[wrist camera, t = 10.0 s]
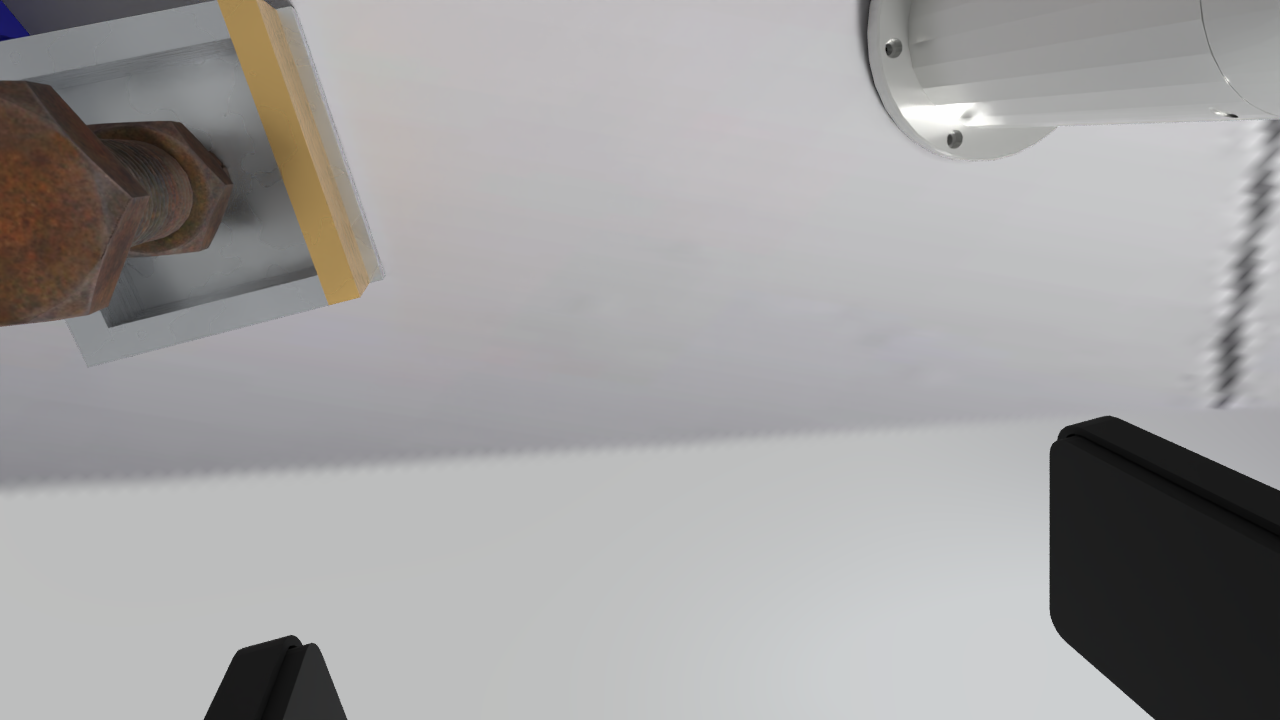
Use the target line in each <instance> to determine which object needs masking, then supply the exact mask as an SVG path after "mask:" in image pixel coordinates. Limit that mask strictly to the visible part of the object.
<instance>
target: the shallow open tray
mask: <svg viewBox="0 0 1280 720" xmlns="http://www.w3.org/2000/svg"><path fill="white" fill-rule="evenodd" d="M0 80H13V81H30V82H35V83H41V84H47V85H51V87H52V88H53V89H54V90H55V91H56V92H57V93H58V94H59V95H60V96H61V98H62V99H63V100H64V101H65V102H66V103H67V104H68V105H69V106H70V107H71V109H72V110H73V111H74V112H75V113H76V114H77V115H78V116H79V117H80V118H81V120H82V121H83V122H84V123H85V124H86V125H90V124H102V123H121V122H143V121H175V122H181V123H182V124H183V125H184V126H185V127H186V128H187V129H188V130H189V131H190V132H191V133H192V134H193V135H194V136H195V137H196V138H197V139H198V140H199V141H200V142H201V143H202V145H203V146H204V147H205V148H206V149H207V150H208V151H210V152H211V153H213V154H214V155H215V156H216V157H217V158H218V159H219V160H220V163H221V164H222V166H221V167H222V168H225V167H226V168H227V170H228V172H229V174H230V177H231V181H232V182H233V184H234V185H233V189H232V195H231V196H230V199H229V202H228V205H227V208H226V211H225V213H224V216H223V218H222V221H221V223H220V226H219V228H218V230H217V232H216V234H215V236H214V238H213V240H212V242H211V244H210V246H209V248H208V249H205V250H202V251H200V252H192V253H184V254H174V255H164V256H152V257H139V258H126V261H125V263H124V266H123V269H122V271H121V274H120V277H119V279H118V282H117V285H116V287H115V290H114V293H113V295H112V298H111V301H110V303H109V306H108V307H106V308H104V309H102V310H99V311H97V312H95V313H92V314H90V315H86V316H80V317H74V318H68V319H65V321H66V323H67V326H68V328H69V330H70V332H71V334H72V336H73V338H74V340H75V342H76V344H77V346H78V348H79V350H80V352H81V354H82V356H83V358H84V360H85V362H86V364H87V367H92V366H96V365H100V364H104V363H107V362H111V361H115V360H119V359H123V358H127V357H131V356H135V355H138V354H142V353H146V352H150V351H154V350H158V349H162V348H165V347H169V346H173V345H177V344H181V343H185V342H189V341H193V340H196V339H200V338H204V337H208V336H212V335H216V334H220V333H224V332H227V331H231V330H235V329H239V328H243V327H247V326H251V325H254V324H258V323H262V322H266V321H270V320H274V319H278V318H282V317H285V316H289V315H293V314H297V313H301V312H305V311H309V310H312V309H316V308H320V307H324V306H328V305H332V304H336V303H340V302H343V301H347V300H351V299H355V298H359V297H361V295H362V294H363V292H364V290H365V289H366V287H367V286H368V284H369V283H372V282H376V281H380V280H383V279H384V277H385V273H384V270H383V267H382V264H381V262H380V259H379V256H378V253H377V250H376V247H375V244H374V241H373V238H372V235H371V232H370V229H369V226H368V223H367V220H366V217H365V214H364V211H363V208H362V205H361V202H360V199H359V196H358V193H357V190H356V187H355V184H354V181H353V178H352V175H351V172H350V169H349V166H348V163H347V160H346V157H345V154H344V151H343V148H342V146H341V143H340V140H339V137H338V134H337V131H336V128H335V125H334V122H333V119H332V116H331V113H330V110H329V107H328V104H327V101H326V98H325V95H324V92H323V89H322V86H321V83H320V80H319V77H318V74H317V71H316V68H315V65H314V62H313V59H312V56H311V53H310V50H309V47H308V44H307V41H306V38H305V35H304V32H303V30H302V27H301V24H300V21H299V18H298V15H297V12H296V10H295V9H294V8H293V7H291V6H289V7H284V8H279V9H274V8H273V7H272V6H270V5H269V4H268V3H266V2H265V1H264V0H214V1H209V2H203V3H198V4H193V5H188V6H183V7H177V8H172V9H167V10H162V11H157V12H151V13H146V14H141V15H136V16H131V17H125V18H120V19H115V20H110V21H105V22H99V23H94V24H89V25H84V26H79V27H73V28H68V29H63V30H58V31H52V32H47V33H42V34H37V35H32V36H26V37H21V38H16V39H11V40H6V41H0Z"/></svg>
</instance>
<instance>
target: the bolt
mask: <svg viewBox="0 0 1280 720" xmlns="http://www.w3.org/2000/svg"><path fill="white" fill-rule="evenodd" d="M221 166H222V164H221V163H220V160H219V159H218V158H217V157H216V156H215V155H214V154H213V153H211V152H210V151H208V150H207V149H206V148H205V147H204V146H203V145H202V143H201V142H200V141H199V140H198V139H197V138H196V137H195V136H194V135H193V134H192V133H191V132H190V131H189V130H188V129H187V128H186V127H185V126H184V125H183V124H182V123H181V122H175V121H143V122H121V123H102V124H90V125H86V124H85V123H84V122H83V121H82V120H81V118H80V117H79V116H78V115H77V114H76V113H75V112H74V111H73V110H72V109H71V107H70V106H69V105H68V104H67V103H66V102H65V101H64V100H63V99H62V98H61V96H60V95H59V94H58V93H57V92H56V91H55V90H54V89H53V88H52V87H51V85H47V84H41V83H35V82H30V81H13V80H0V327H2V326H11V325H20V324H29V323H38V322H47V321H55V320H61V319H68V318H74V317H80V316H86V315H90V314H92V313H95V312H97V311H99V310H102V309H104V308H106V307H108V306H109V303H110V301H111V298H112V295H113V293H114V290H115V287H116V285H117V282H118V279H119V277H120V274H121V271H122V269H123V266H124V263H125V261H126V258H139V257H152V256H164V255H174V254H184V253H192V252H200V251H202V250H205V249H208V248H209V246H210V244H211V242H212V240H213V238H214V236H215V234H216V232H217V230H218V228H219V226H220V223H221V221H222V218H223V216H224V213H225V211H226V208H227V205H228V202H229V199H230V196H231V195H232V189H233V185H234V184H233V182H232V181H231V177H230V174H229V172H228V170H227V168H226V167H225V168H222V167H221Z"/></svg>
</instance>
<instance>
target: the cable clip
mask: <svg viewBox="0 0 1280 720" xmlns="http://www.w3.org/2000/svg"><path fill="white" fill-rule="evenodd" d="M26 36H30V35H29V33H28V32H27V31H26V30H25V29H24V27H23V26H22V25H21V24H20V23H19V21H18V20H17V19H16V18H15V16H14V15H13V14H12V13H11V12H10V10H9V9H8V8H7V7H6V6H5V4H4V3H3V2H2V1H1V0H0V41H6V40H11V39H16V38H21V37H26Z"/></svg>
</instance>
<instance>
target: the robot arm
mask: <svg viewBox="0 0 1280 720" xmlns="http://www.w3.org/2000/svg"><path fill="white" fill-rule="evenodd" d="M867 37H868V52H869V62H870V66H871V70H872V75H873V79H874V83H875V86H876V89H877V91H878V93H879V96H880V98H881V100H882V102H883V105H884V107H885V109H886V110H887V112H888V113H889V115H890V116H891V117H892V119H893V120H894V122H895V123H896V125H897V126H898V128H900V129H901V130H902V131H903V132H904V133H905V134H906V135H907V136H908V137H909V138H910V139H911V140H912V141H913V142H914V143H916V144H918V145H919V146H921V147H923V148H924V149H926V150H928V151H930V152H931V153H933V154H936V155H939V156H943V157H946V158H949V159H952V160H964V161H990V160H997V159H1001V158H1005V157H1009V156H1012V155H1016V154H1018V153H1020V152H1022V151H1024V150H1026V149H1028V148H1030V147H1032V146H1034V145H1036V144H1037V143H1038V142H1040V141H1041V140H1042V139H1044V138H1045V137H1046V136H1048V135H1049V134H1050V133H1052V132H1053V131H1054V130H1055V129H1056V128H1057V127H1058V126H1087V125H1117V124H1148V123H1179V122H1209V121H1240V120H1270V119H1280V0H871V3H870V8H869V19H868V30H867ZM886 46H887V49H888V50H887V54H886V51H885V47H886ZM1050 616H1051V619H1052V622H1053V624H1054V626H1055V628H1056V630H1057V632H1058V633H1059V635H1060V636H1061V637H1062V638H1063V639H1064V640H1065V641H1066V642H1067V643H1068V644H1069V645H1070V646H1071V647H1073V648H1074V649H1075V650H1076V651H1077V652H1078V653H1079V654H1081V655H1082V656H1083V657H1084V658H1085V659H1086V660H1087V661H1088V662H1090V663H1091V664H1092V665H1093V666H1094V667H1095V668H1096V669H1098V670H1099V671H1100V672H1101V673H1102V674H1103V675H1104V676H1106V677H1107V678H1108V679H1109V680H1110V681H1111V682H1113V683H1114V684H1115V685H1116V686H1117V687H1118V688H1120V689H1121V690H1122V691H1123V692H1124V693H1125V694H1126V695H1127V696H1129V697H1130V698H1131V699H1132V700H1133V701H1134V702H1135V703H1137V704H1138V705H1139V706H1140V707H1141V708H1142V709H1143V710H1145V711H1146V712H1147V713H1148V714H1149V715H1150V716H1151V717H1153V718H1154V719H1155V720H1280V491H1279V490H1277V489H1274V488H1272V487H1270V486H1268V485H1266V484H1263V483H1261V482H1259V481H1257V480H1254V479H1252V478H1250V477H1248V476H1246V475H1243V474H1241V473H1239V472H1237V471H1235V470H1232V469H1230V468H1228V467H1226V466H1223V465H1221V464H1219V463H1217V462H1215V461H1212V460H1210V459H1208V458H1206V457H1203V456H1201V455H1199V454H1197V453H1195V452H1192V451H1190V450H1188V449H1186V448H1183V447H1181V446H1179V445H1177V444H1175V443H1172V442H1170V441H1168V440H1166V439H1163V438H1161V437H1159V436H1157V435H1154V434H1152V433H1150V432H1147V431H1145V430H1143V429H1141V428H1139V427H1137V426H1134V425H1132V424H1130V423H1128V422H1126V421H1123V420H1121V419H1119V418H1116V417H1112V416H1104V417H1099V418H1096V419H1092V420H1088V421H1084V422H1081V423H1077V424H1073V425H1070V426H1066V427H1065V428H1063V429H1062V430H1061V431H1060V433H1059V436H1058V439H1057V441H1056V442H1054V443H1053V444H1052V446H1051V449H1050ZM204 720H347V718H346V715H345V713H344V710H343V707H342V705H341V702H340V700H339V697H338V694H337V692H336V689H335V687H334V684H333V681H332V679H331V676H330V674H329V671H328V669H327V666H326V663H325V661H324V658H323V656H322V653H321V651H320V649H319V647H318V646H317V645H316V644H314V643H310V644H306V645H302V643H301V641H300V640H299V639H298V638H297V637H296V636H293V635H290V636H286V637H282V638H279V639H275V640H271V641H268V642H264V643H260V644H256V645H253V646H249V647H245V648H242V649H240V650H238V651H237V653H236V654H235V656H234V657H233V659H232V661H231V663H230V665H229V667H228V670H227V672H226V674H225V676H224V678H223V680H222V682H221V685H220V686H219V688H218V691H217V693H216V695H215V697H214V699H213V701H212V703H211V705H210V707H209V710H208V712H207V714H206V716H205V718H204Z"/></svg>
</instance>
